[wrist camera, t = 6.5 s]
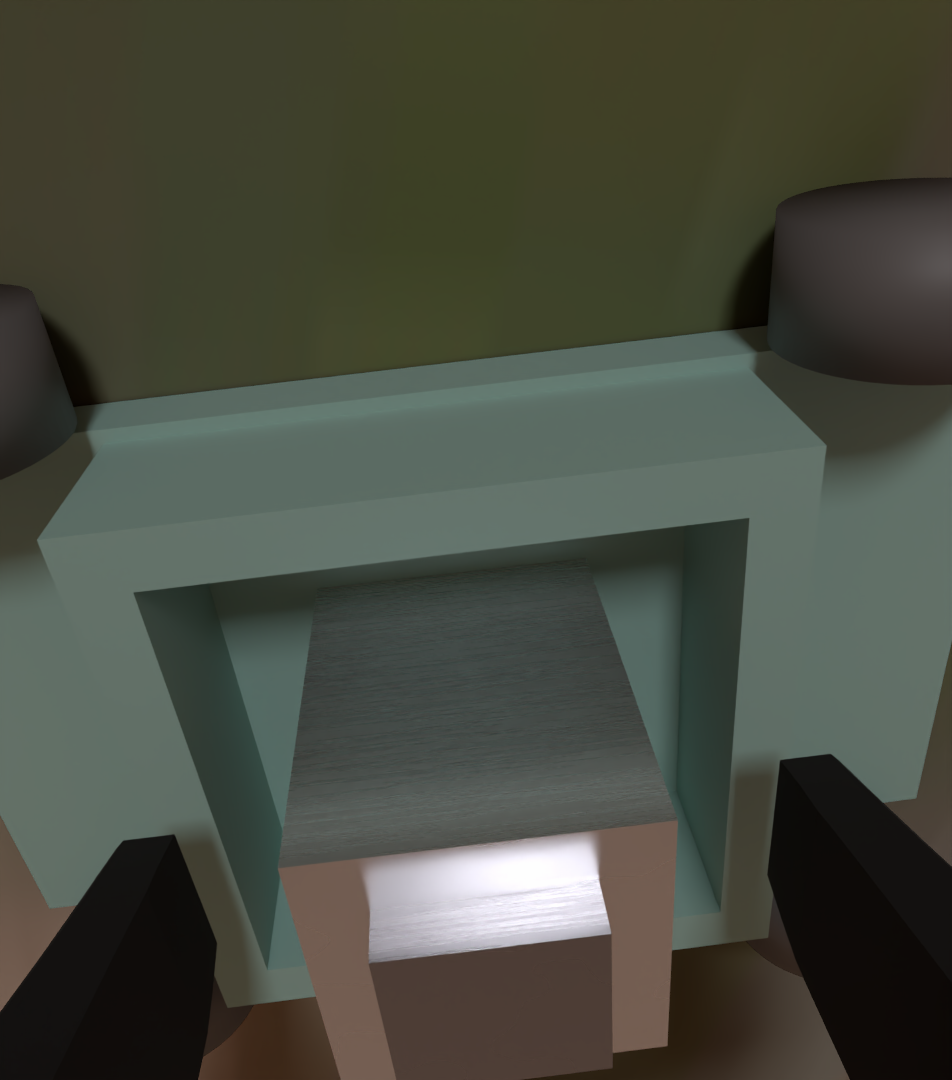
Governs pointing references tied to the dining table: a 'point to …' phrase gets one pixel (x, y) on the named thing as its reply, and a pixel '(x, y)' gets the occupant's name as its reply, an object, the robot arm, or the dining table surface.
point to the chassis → (492, 567)
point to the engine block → (478, 830)
